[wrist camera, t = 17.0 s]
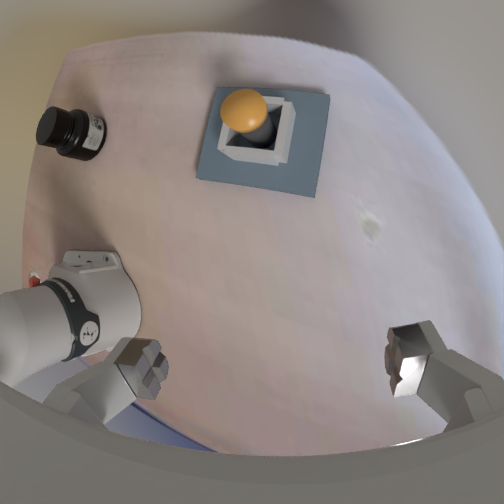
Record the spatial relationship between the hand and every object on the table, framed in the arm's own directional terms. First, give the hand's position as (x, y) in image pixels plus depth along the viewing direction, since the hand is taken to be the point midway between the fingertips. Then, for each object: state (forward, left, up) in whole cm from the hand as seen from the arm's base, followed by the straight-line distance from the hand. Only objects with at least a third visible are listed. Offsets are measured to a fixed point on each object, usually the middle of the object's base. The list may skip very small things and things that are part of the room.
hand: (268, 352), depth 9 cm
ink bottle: (-44, +14, -27) cm, 54 cm away
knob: (-10, +15, -26) cm, 31 cm away
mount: (-10, +15, -27) cm, 33 cm away
